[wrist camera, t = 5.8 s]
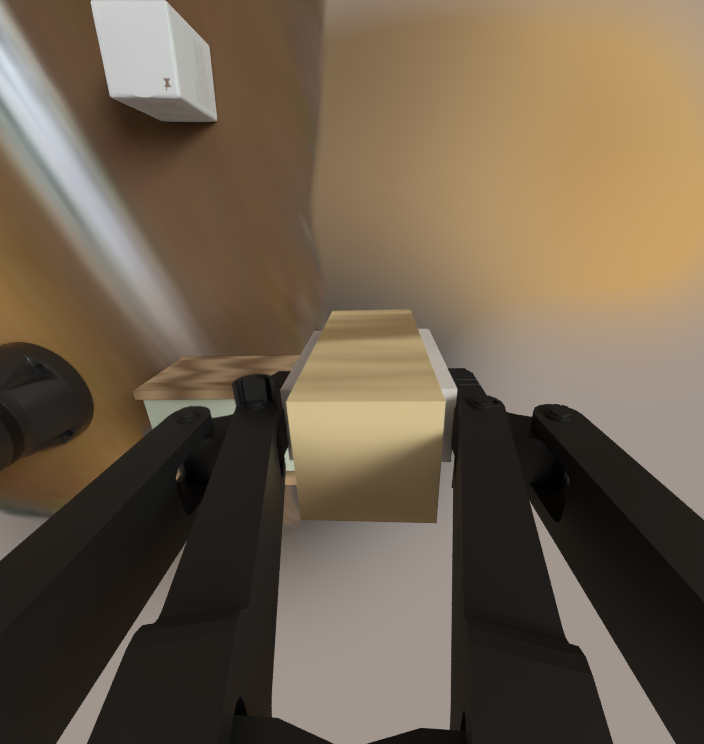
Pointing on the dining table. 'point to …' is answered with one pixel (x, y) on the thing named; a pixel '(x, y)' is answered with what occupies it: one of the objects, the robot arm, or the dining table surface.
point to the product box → (155, 60)
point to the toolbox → (211, 380)
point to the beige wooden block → (368, 422)
